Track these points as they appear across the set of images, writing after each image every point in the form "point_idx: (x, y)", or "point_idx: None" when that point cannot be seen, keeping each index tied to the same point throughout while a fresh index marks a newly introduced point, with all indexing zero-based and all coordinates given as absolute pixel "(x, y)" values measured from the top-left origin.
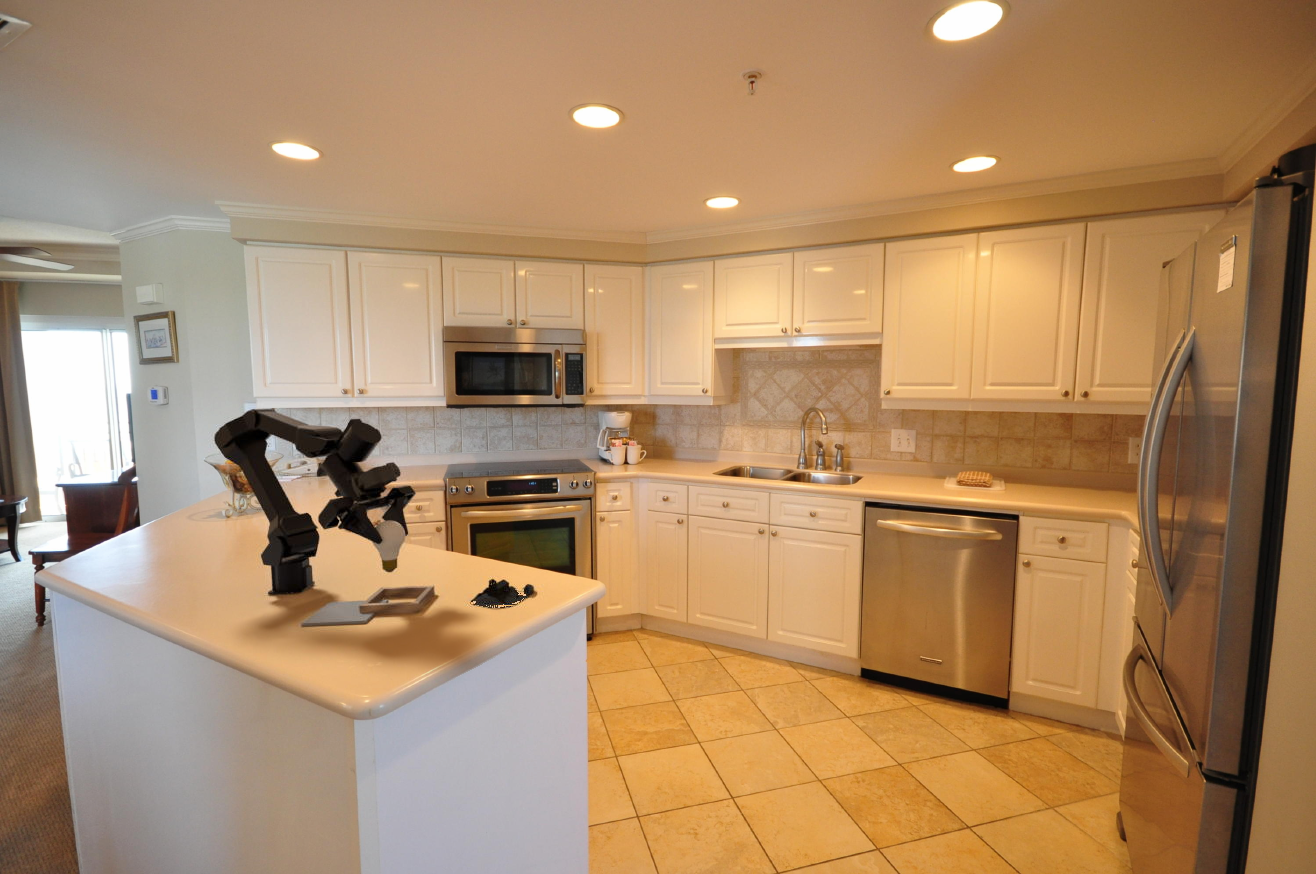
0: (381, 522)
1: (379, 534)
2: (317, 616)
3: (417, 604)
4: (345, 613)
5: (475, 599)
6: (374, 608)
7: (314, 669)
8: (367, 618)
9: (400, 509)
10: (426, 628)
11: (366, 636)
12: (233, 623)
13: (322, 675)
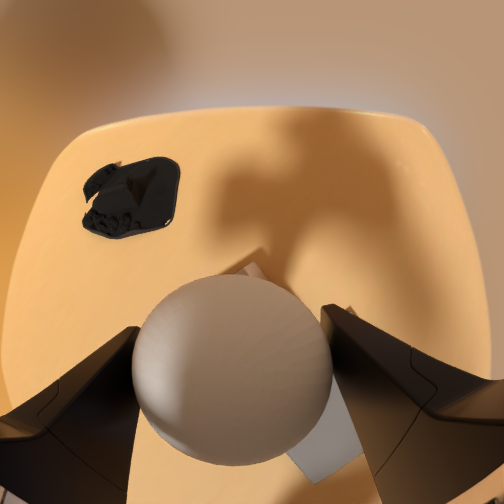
0: (259, 414)
1: (336, 320)
2: None
3: (254, 262)
4: None
5: (153, 223)
6: None
7: (452, 215)
8: None
9: (20, 421)
10: (299, 193)
11: (378, 251)
12: None
13: (448, 194)
